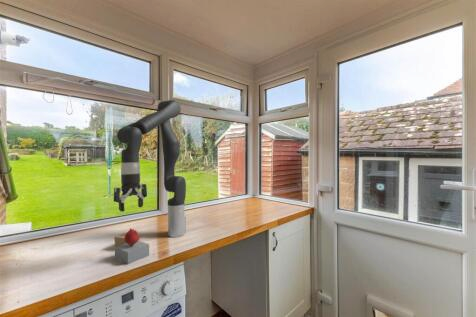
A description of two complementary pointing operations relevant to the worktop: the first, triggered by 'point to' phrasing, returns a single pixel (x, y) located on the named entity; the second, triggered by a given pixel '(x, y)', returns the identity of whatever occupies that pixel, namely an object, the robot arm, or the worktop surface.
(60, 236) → the worktop surface
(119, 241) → the walnut block
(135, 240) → the onion
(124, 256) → the grey block
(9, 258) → the worktop surface
